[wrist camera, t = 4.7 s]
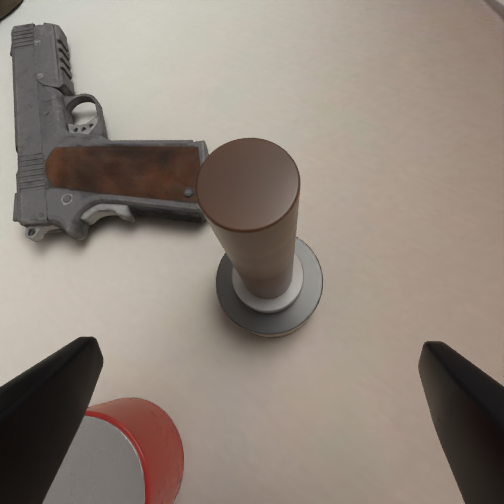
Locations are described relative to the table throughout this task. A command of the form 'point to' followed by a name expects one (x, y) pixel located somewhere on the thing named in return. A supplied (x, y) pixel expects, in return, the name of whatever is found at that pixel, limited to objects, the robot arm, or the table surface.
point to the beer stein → (7, 6)
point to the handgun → (86, 152)
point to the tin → (121, 457)
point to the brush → (259, 237)
